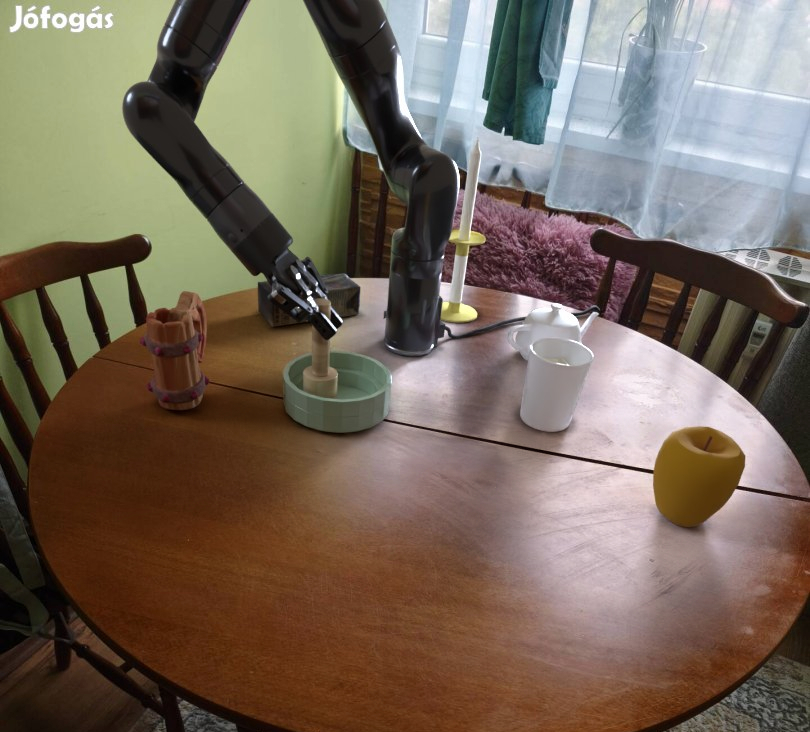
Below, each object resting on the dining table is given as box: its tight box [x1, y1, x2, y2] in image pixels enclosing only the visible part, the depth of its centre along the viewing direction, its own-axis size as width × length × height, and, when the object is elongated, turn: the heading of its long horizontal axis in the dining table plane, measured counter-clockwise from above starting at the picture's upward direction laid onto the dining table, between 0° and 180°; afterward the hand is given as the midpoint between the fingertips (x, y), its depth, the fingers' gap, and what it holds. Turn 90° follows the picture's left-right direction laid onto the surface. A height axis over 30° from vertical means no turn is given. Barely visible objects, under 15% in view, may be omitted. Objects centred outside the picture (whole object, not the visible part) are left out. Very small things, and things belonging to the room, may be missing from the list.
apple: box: [652, 425, 746, 528], centre depth 93 cm, size 11×11×13 cm
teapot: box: [506, 302, 600, 362], centre depth 129 cm, size 20×12×10 cm, turn 115°
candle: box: [440, 138, 487, 324], centre depth 134 cm, size 10×10×32 cm
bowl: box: [282, 349, 393, 434], centre depth 109 cm, size 17×17×6 cm
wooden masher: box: [303, 298, 338, 399], centre depth 103 cm, size 5×5×16 cm
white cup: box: [519, 337, 594, 433], centre depth 110 cm, size 10×10×12 cm
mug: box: [139, 290, 210, 411], centre depth 105 cm, size 15×8×15 cm, turn 168°
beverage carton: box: [257, 273, 362, 327], centre depth 135 cm, size 8×19×7 cm, turn 121°
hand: (335, 331), depth 100 cm, fingers closed on wooden masher, 2 cm apart
